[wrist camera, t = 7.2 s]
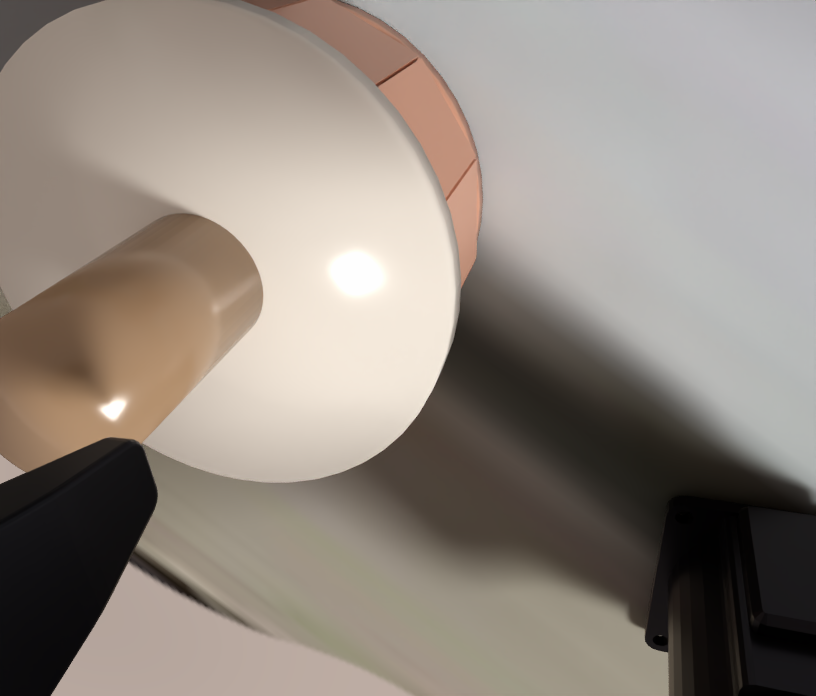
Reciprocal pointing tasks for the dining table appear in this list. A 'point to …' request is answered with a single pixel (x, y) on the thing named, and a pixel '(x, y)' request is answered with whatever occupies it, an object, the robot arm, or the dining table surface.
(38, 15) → the mat
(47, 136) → the lid
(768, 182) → the dining table surface
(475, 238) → the bowl
